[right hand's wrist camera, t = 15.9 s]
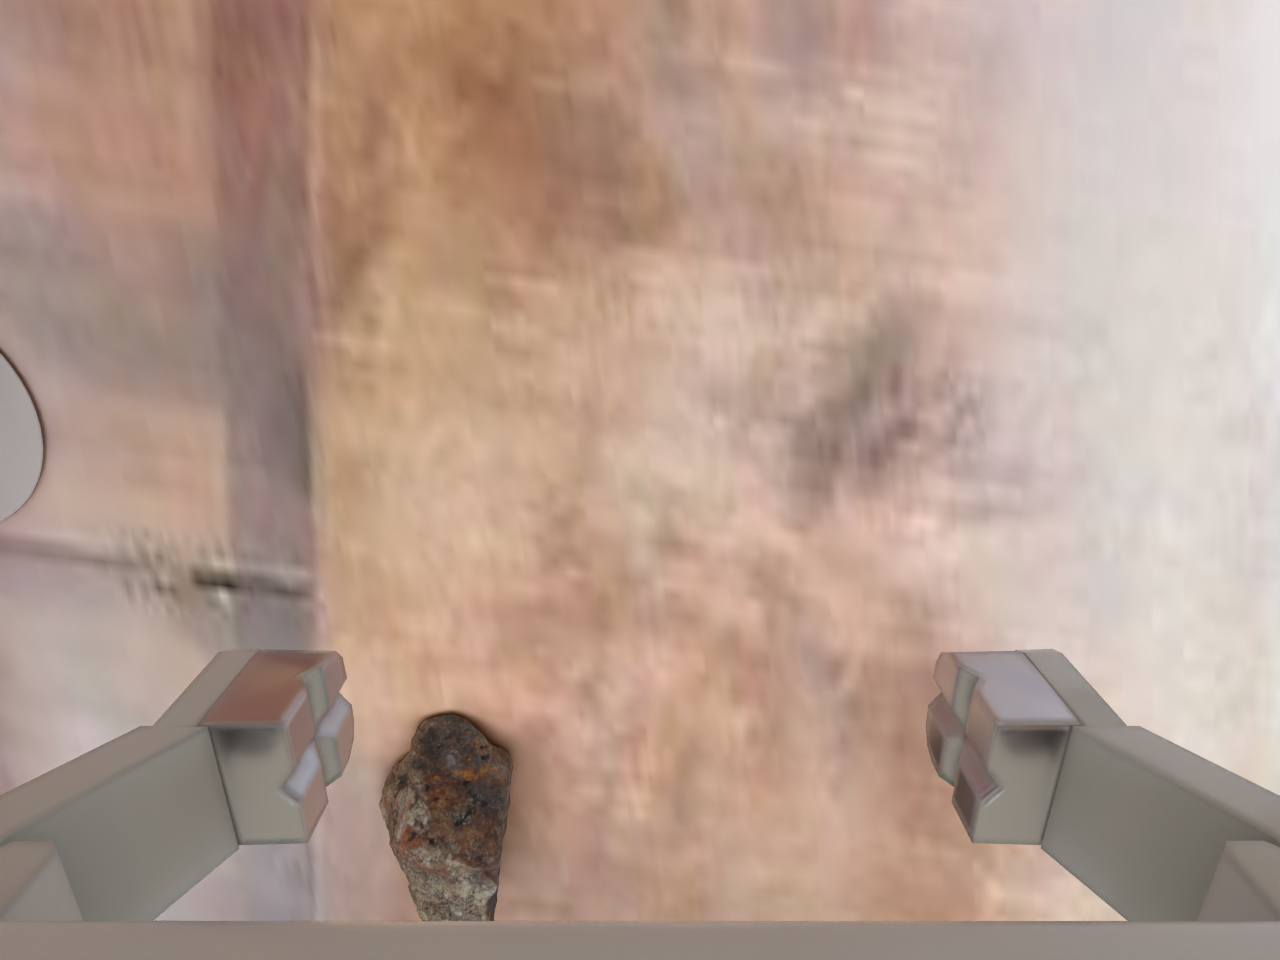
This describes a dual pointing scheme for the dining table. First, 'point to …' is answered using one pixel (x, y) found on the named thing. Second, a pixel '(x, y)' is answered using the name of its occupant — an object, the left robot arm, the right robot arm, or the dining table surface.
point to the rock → (449, 819)
